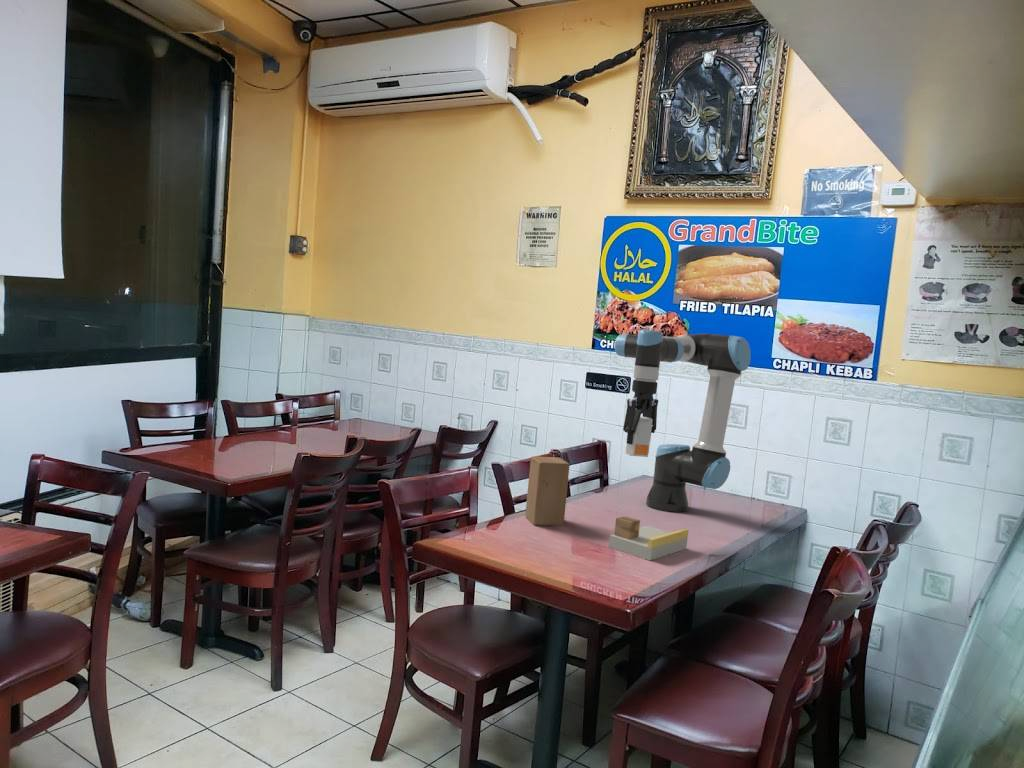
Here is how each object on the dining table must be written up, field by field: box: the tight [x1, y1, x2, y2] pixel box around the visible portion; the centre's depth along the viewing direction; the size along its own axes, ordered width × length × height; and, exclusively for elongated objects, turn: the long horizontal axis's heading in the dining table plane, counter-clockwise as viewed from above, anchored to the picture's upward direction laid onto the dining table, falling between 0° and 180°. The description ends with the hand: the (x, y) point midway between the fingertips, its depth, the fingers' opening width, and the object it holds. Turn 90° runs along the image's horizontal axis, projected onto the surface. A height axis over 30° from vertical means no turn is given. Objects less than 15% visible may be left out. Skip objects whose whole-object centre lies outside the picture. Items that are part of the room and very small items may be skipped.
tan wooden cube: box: [614, 515, 641, 539], centre depth 220 cm, size 5×5×5 cm
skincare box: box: [626, 416, 653, 458], centre depth 234 cm, size 6×4×12 cm
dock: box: [608, 525, 689, 561], centre depth 222 cm, size 20×14×6 cm
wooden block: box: [524, 455, 570, 527], centre depth 240 cm, size 10×10×20 cm
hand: (637, 453), depth 234 cm, fingers closed on skincare box, 7 cm apart
